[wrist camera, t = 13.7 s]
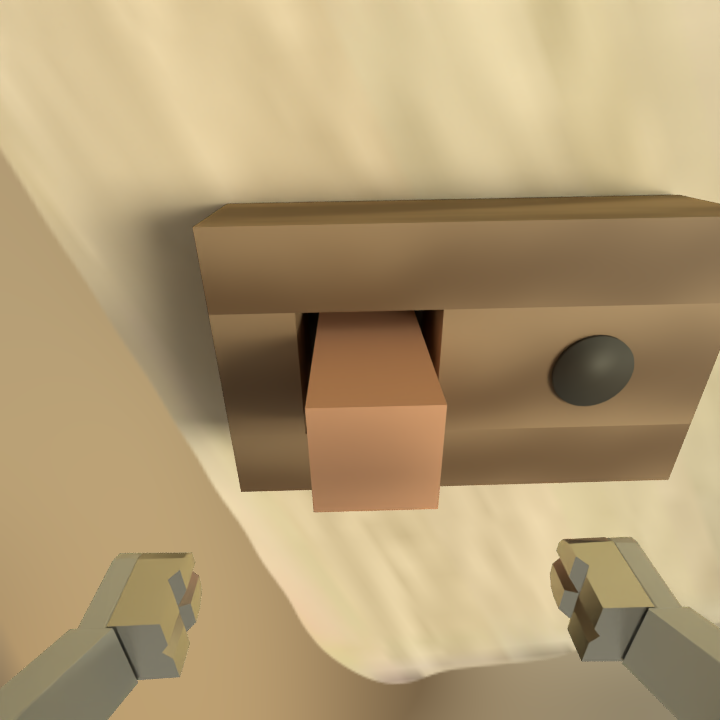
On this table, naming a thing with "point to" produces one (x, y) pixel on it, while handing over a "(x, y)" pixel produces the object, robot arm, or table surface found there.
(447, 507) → the table surface
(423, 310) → the socket block
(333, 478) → the square peg
